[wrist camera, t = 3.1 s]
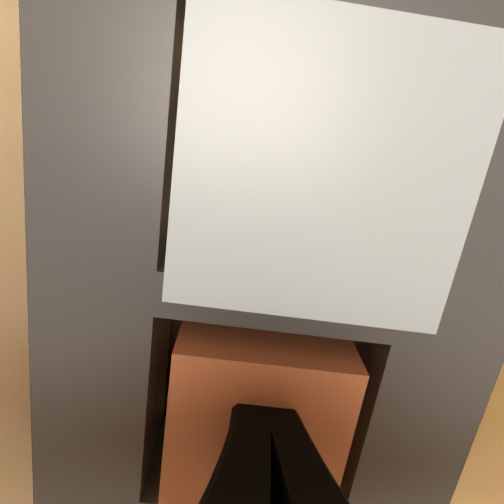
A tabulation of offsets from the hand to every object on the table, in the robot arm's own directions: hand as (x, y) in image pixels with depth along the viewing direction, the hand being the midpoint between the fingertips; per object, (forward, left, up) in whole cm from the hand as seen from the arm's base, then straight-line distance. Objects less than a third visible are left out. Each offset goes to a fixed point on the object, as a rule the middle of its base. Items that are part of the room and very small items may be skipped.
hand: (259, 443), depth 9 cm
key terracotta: (0, 0, -3) cm, 3 cm away
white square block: (0, +6, -1) cm, 6 cm away
